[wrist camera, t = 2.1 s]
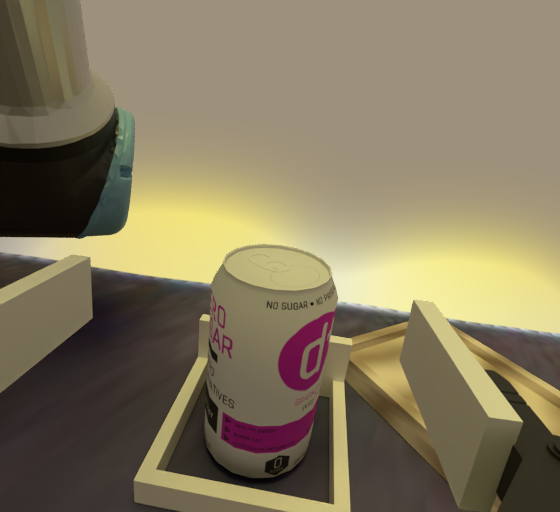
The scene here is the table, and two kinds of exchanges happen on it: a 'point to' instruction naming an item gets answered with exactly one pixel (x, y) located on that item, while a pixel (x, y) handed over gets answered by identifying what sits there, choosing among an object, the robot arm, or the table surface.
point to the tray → (399, 398)
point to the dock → (231, 498)
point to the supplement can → (266, 357)
